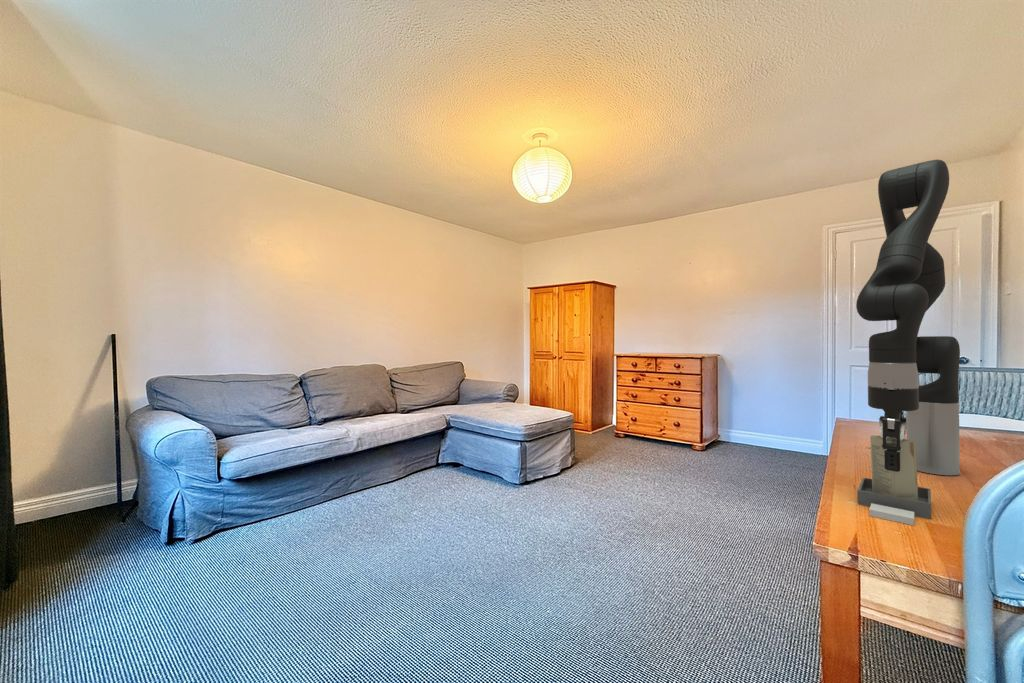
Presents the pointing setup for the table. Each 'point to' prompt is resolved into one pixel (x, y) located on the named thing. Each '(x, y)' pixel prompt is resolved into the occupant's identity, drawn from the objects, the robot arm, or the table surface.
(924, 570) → the table surface
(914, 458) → the skincare box
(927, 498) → the grey open tray
